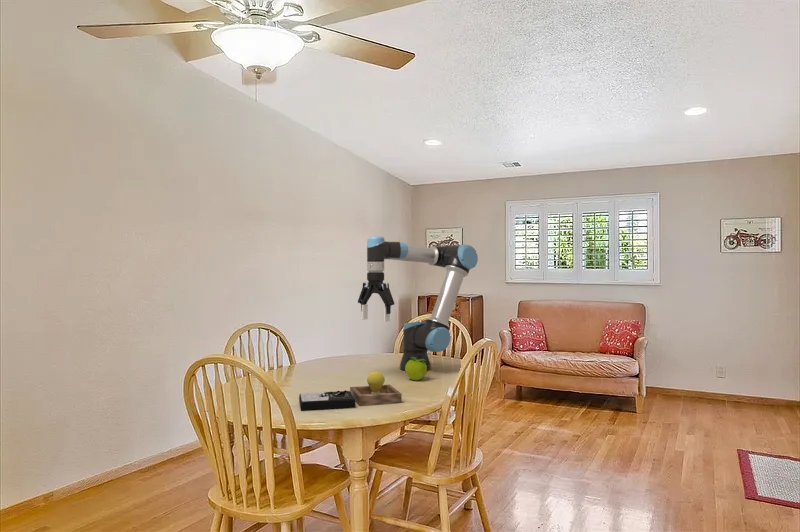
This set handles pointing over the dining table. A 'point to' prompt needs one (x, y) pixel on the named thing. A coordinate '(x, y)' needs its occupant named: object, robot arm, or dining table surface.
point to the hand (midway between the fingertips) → (375, 320)
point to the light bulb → (375, 381)
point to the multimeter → (326, 400)
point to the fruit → (416, 368)
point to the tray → (376, 395)
